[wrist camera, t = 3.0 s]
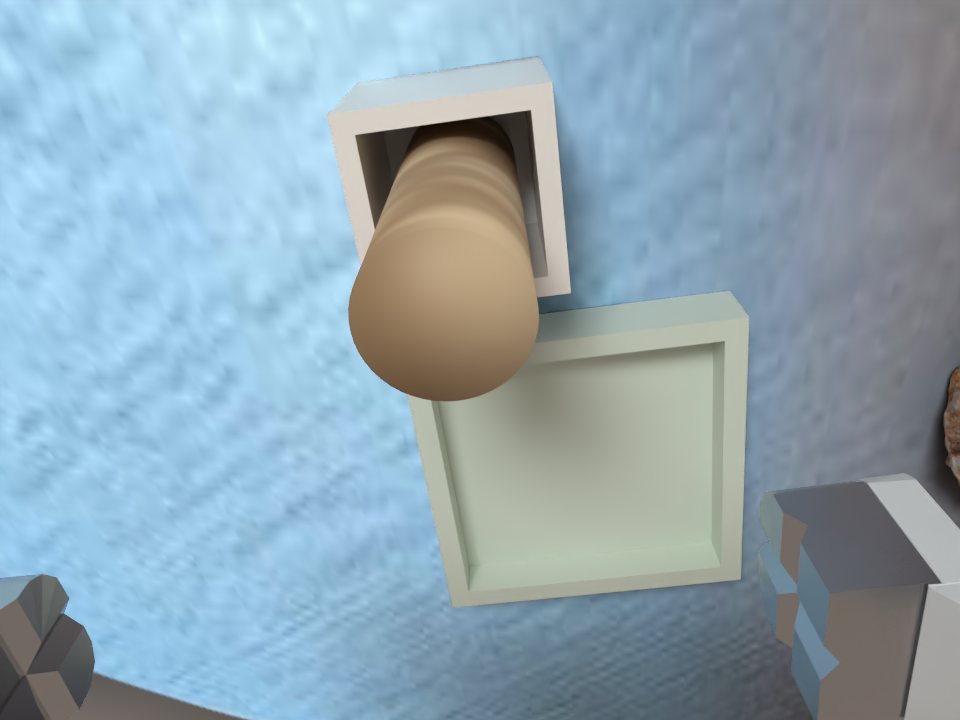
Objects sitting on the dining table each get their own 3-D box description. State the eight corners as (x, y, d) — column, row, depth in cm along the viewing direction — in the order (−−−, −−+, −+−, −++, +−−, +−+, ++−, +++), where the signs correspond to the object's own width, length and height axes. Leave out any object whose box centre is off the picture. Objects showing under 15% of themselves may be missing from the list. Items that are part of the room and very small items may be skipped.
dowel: (508, 100, 24) (528, 216, 13) (521, 210, 26) (547, 390, 15) (396, 116, 24) (328, 241, 14) (416, 224, 26) (369, 411, 15)
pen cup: (538, 56, 24) (552, 82, 19) (554, 231, 27) (571, 293, 22) (357, 82, 24) (326, 114, 19) (392, 252, 27) (372, 317, 22)
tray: (729, 290, 28) (749, 317, 26) (724, 541, 33) (740, 579, 31) (405, 330, 28) (399, 359, 26) (454, 569, 34) (452, 607, 32)
